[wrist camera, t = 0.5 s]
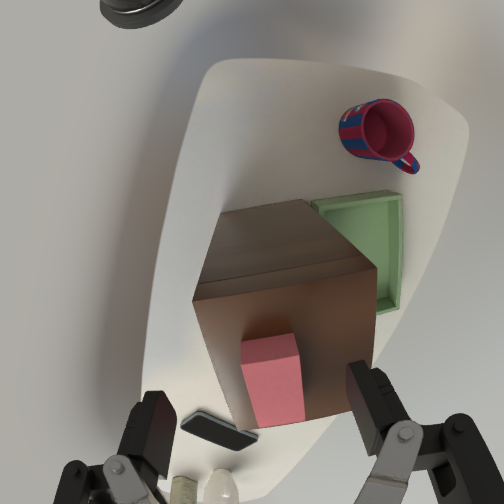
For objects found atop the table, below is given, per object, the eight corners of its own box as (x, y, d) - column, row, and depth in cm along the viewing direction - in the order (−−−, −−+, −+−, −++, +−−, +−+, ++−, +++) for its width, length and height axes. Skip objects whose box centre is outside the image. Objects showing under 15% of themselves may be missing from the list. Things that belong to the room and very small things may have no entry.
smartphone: (237, 452, 51) (177, 427, 47) (237, 448, 52) (178, 424, 48) (260, 439, 49) (198, 413, 45) (260, 436, 50) (198, 409, 46)
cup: (363, 96, 30) (388, 87, 23) (408, 157, 32) (438, 161, 26) (327, 127, 31) (347, 123, 25) (376, 188, 34) (402, 198, 27)
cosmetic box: (171, 477, 58) (166, 512, 47) (181, 475, 57) (177, 511, 46) (188, 485, 60) (185, 518, 49) (199, 483, 59) (196, 517, 48)
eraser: (240, 341, 16) (240, 364, 14) (293, 332, 15) (299, 355, 14) (257, 405, 18) (259, 428, 16) (301, 398, 18) (305, 420, 16)
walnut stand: (220, 213, 34) (191, 301, 15) (302, 198, 34) (377, 267, 14) (238, 299, 38) (237, 431, 19) (312, 286, 38) (366, 406, 18)
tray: (311, 200, 34) (318, 206, 31) (388, 189, 34) (401, 194, 31) (321, 313, 40) (328, 327, 36) (389, 297, 39) (399, 309, 36)
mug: (234, 479, 58) (234, 513, 47) (203, 475, 57) (200, 509, 46) (245, 462, 54) (246, 501, 44) (211, 457, 53) (208, 497, 42)
